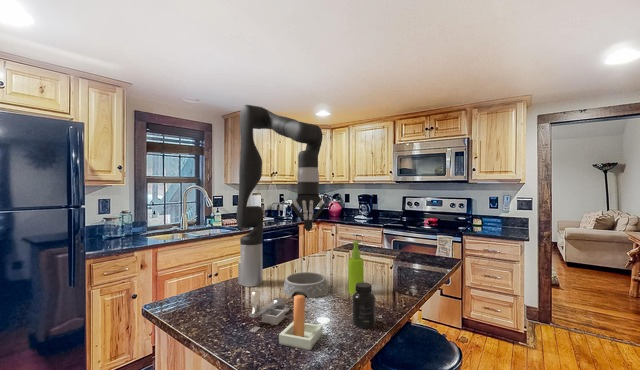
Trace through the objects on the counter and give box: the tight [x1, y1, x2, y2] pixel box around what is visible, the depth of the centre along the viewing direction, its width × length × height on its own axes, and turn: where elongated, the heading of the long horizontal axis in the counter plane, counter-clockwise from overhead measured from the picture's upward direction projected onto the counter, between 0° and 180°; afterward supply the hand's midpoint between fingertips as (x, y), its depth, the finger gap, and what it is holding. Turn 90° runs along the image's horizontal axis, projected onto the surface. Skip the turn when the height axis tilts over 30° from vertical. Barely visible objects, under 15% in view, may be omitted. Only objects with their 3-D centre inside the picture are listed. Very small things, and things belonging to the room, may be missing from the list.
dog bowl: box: [282, 271, 329, 299], centre depth 125 cm, size 17×18×5 cm
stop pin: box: [293, 294, 306, 337], centre depth 85 cm, size 3×3×11 cm
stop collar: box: [261, 309, 286, 325], centre depth 97 cm, size 5×5×2 cm
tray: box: [278, 320, 324, 351], centre depth 85 cm, size 9×9×2 cm
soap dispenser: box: [347, 240, 365, 295], centre depth 123 cm, size 6×7×20 cm
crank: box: [248, 290, 286, 319], centre depth 100 cm, size 15×4×8 cm, turn 149°
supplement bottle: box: [352, 281, 376, 330], centre depth 94 cm, size 7×7×12 cm
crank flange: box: [249, 304, 290, 333], centre depth 98 cm, size 7×20×1 cm, turn 159°
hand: (308, 230), depth 109 cm, fingers closed
